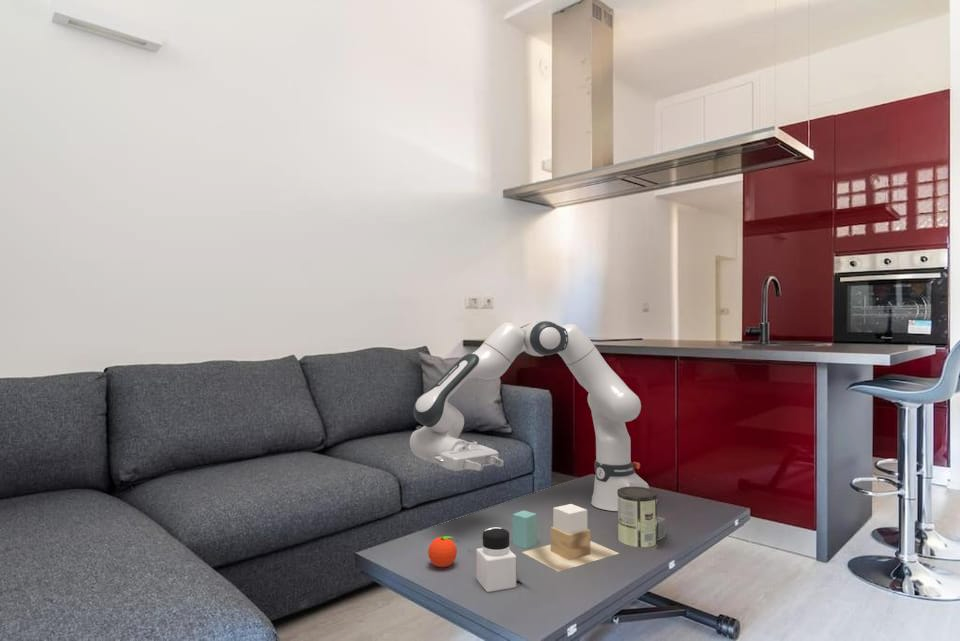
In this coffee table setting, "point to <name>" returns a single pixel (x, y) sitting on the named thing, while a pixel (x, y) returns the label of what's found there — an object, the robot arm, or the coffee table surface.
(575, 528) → the white block
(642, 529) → the coffee can
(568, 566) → the birch board
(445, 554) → the clementine
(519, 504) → the coffee table surface
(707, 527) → the coffee table surface
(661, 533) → the dice cube
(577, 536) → the oak block
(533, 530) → the teal block
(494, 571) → the medicine bottle
